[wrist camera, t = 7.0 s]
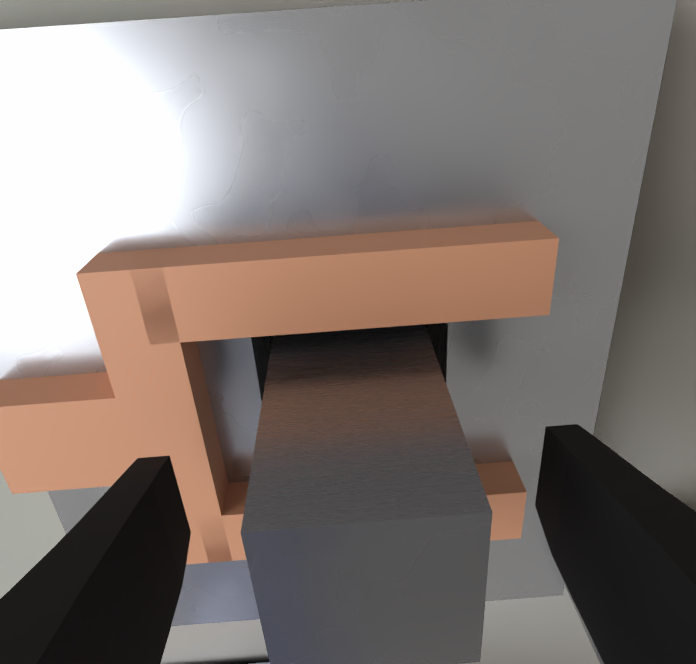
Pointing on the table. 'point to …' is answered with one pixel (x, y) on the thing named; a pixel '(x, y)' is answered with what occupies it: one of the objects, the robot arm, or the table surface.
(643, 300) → the table surface
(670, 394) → the table surface
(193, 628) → the table surface
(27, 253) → the silver base plate
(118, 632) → the robot arm
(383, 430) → the grey rectangular box
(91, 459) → the bracket
